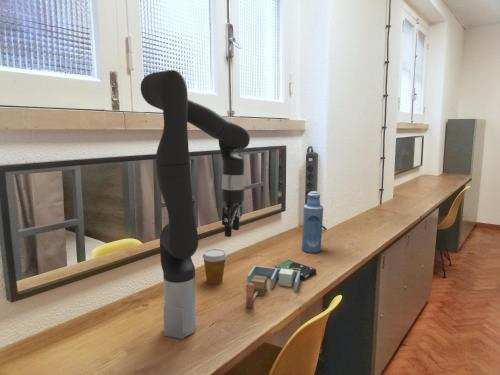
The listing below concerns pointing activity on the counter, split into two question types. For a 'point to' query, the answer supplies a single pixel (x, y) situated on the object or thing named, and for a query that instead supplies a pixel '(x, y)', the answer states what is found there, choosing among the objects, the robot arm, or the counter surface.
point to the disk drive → (298, 269)
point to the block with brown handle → (255, 289)
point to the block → (286, 277)
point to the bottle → (312, 224)
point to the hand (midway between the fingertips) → (232, 233)
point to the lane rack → (271, 275)
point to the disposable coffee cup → (214, 265)
